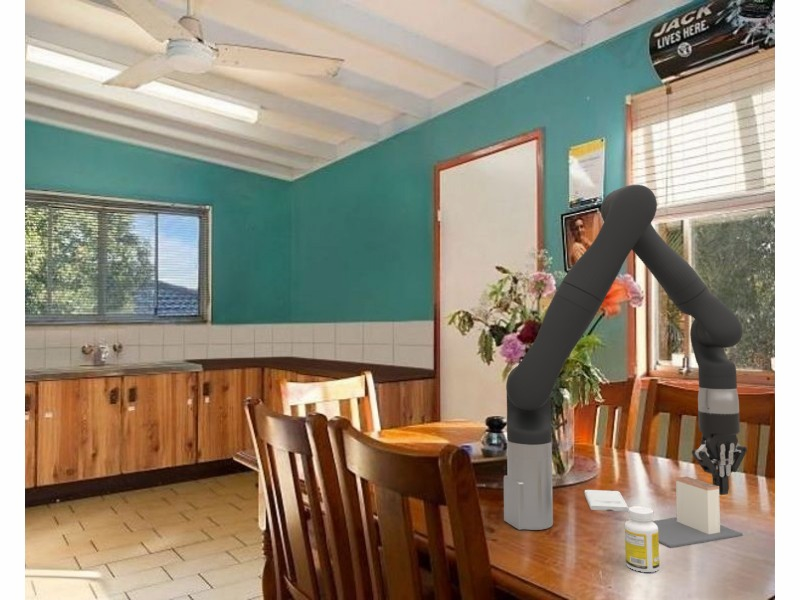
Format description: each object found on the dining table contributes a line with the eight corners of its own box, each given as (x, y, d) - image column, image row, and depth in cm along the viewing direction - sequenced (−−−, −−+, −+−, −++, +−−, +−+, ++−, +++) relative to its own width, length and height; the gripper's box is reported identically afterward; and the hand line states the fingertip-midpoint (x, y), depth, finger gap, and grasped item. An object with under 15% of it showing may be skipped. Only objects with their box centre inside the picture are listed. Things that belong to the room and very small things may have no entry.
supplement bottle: (650, 560, 106) (649, 504, 106) (665, 573, 100) (664, 514, 101) (620, 561, 106) (619, 505, 106) (633, 574, 100) (632, 515, 101)
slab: (708, 534, 117) (707, 488, 117) (676, 521, 125) (675, 477, 125) (720, 532, 118) (719, 486, 118) (688, 519, 126) (687, 476, 126)
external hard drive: (619, 497, 145) (629, 514, 133) (584, 496, 146) (590, 512, 134) (619, 491, 145) (629, 506, 133) (584, 489, 146) (590, 504, 134)
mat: (670, 547, 111) (670, 545, 111) (625, 527, 123) (625, 525, 123) (742, 535, 118) (742, 533, 118) (693, 516, 129) (693, 514, 129)
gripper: (708, 414, 118) (711, 502, 118) (758, 409, 123) (761, 495, 122) (679, 409, 125) (681, 492, 125) (727, 405, 130) (729, 485, 129)
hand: (721, 493), depth 124 cm, fingers closed
